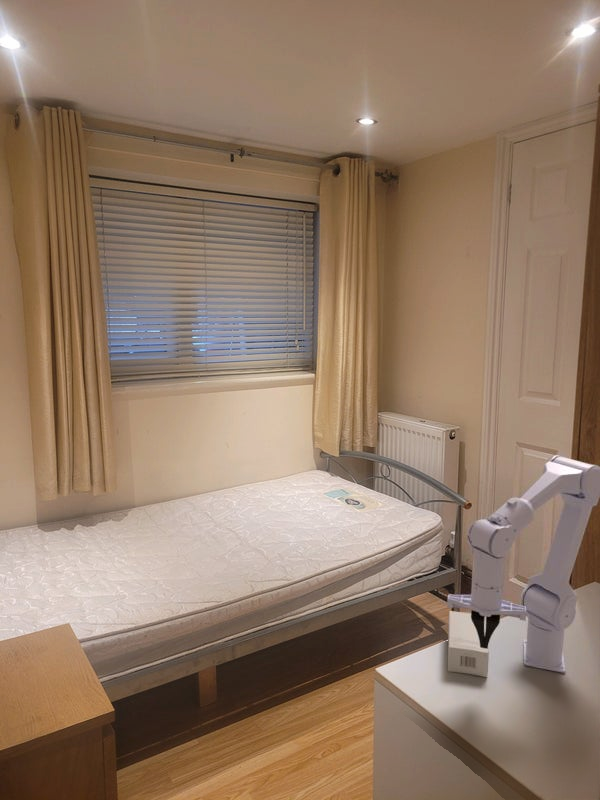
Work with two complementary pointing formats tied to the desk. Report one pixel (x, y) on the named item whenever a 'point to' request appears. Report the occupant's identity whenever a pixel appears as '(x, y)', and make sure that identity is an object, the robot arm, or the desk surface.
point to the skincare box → (466, 646)
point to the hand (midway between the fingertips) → (484, 645)
